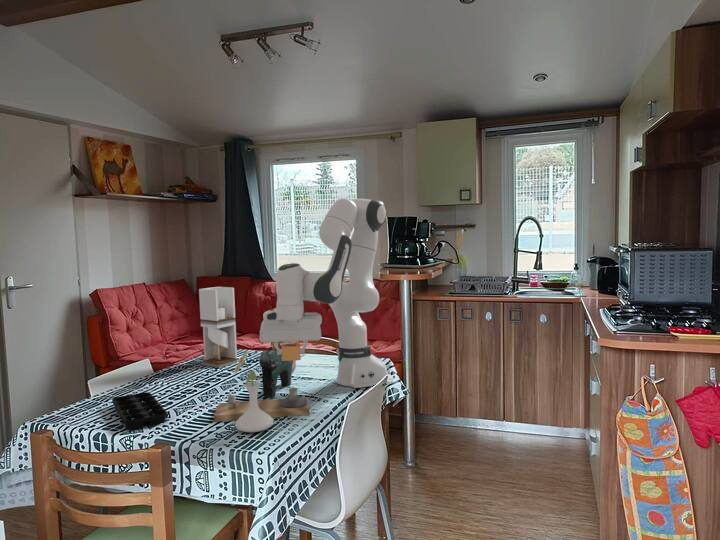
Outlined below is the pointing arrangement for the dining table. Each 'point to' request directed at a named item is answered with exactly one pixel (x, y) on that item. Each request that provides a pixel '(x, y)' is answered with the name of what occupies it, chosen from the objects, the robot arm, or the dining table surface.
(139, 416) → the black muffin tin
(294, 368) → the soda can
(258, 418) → the flower in vase
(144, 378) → the dining table surface
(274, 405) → the base board
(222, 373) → the dining table surface
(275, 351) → the green animal figurine
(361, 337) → the robot arm
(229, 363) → the white block sculpture
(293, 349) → the orange slotted block
